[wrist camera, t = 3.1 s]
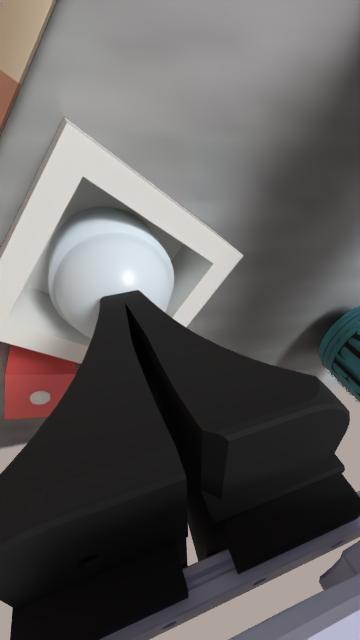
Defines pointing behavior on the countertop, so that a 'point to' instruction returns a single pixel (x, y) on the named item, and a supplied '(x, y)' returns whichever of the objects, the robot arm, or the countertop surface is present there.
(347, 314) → the beverage bottle
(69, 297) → the dome
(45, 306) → the dome housing
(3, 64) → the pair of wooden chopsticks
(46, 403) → the red die
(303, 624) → the robot arm
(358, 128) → the countertop surface
